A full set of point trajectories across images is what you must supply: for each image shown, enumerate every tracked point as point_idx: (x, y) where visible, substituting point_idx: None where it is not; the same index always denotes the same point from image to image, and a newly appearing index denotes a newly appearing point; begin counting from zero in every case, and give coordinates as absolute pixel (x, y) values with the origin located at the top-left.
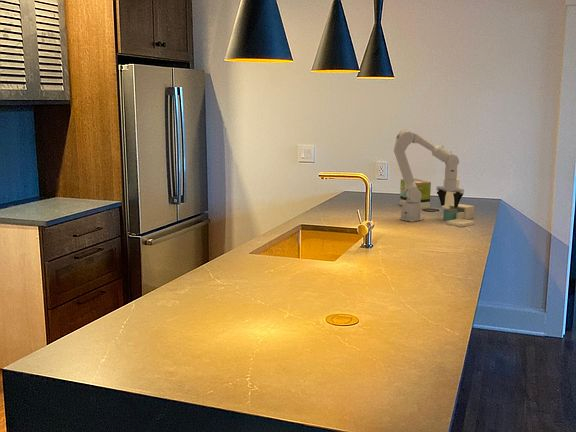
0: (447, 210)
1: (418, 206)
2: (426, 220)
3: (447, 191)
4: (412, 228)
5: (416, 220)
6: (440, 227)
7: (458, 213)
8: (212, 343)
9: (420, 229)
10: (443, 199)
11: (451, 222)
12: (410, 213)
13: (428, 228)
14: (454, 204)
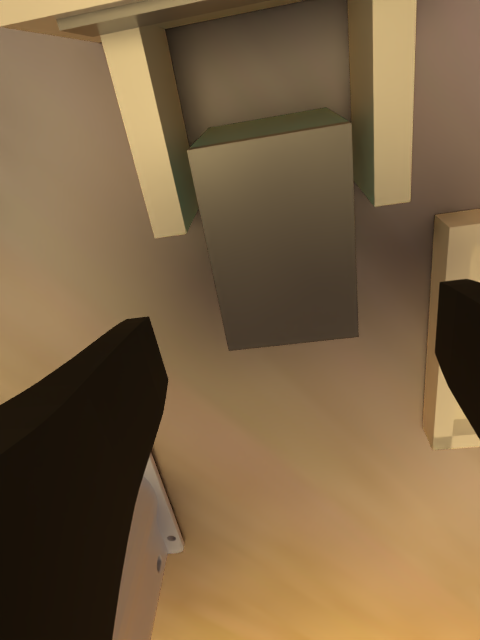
0: (292, 337)
1: (124, 630)
2: (180, 432)
3: None
4: (343, 635)
5: (172, 515)
6: (459, 527)
7: (410, 178)
8: None
9: (397, 627)
10: (118, 423)
11: None
12: (152, 616)
13: (415, 589)
14: (470, 404)
